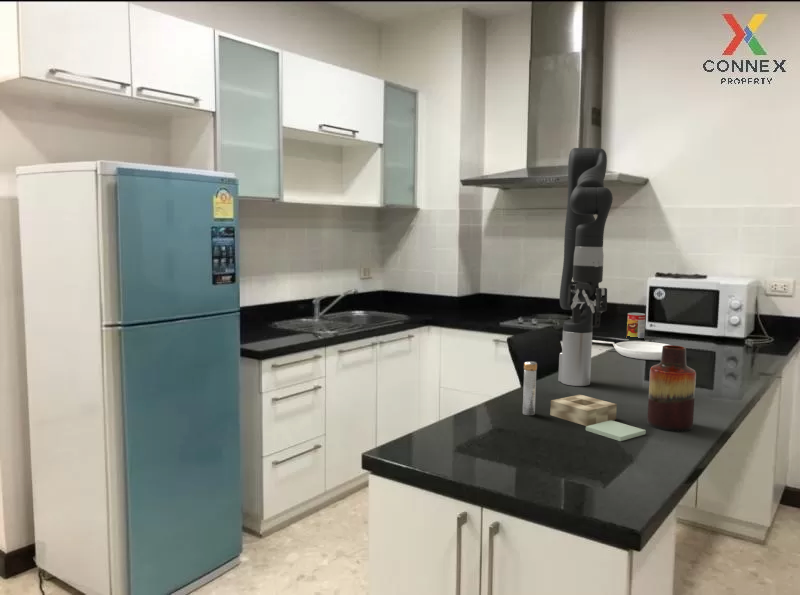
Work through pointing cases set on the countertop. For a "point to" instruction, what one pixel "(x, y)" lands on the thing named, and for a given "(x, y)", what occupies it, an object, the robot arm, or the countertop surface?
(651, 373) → the vase
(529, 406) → the flashlight
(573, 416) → the block
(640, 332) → the canned food
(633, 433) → the pad
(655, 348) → the pan
